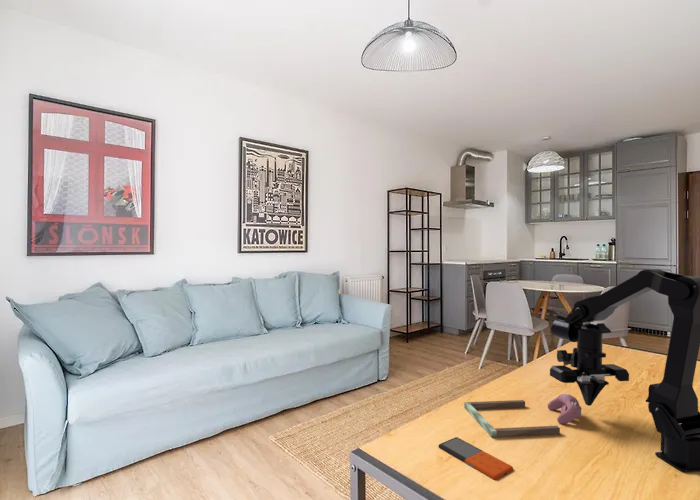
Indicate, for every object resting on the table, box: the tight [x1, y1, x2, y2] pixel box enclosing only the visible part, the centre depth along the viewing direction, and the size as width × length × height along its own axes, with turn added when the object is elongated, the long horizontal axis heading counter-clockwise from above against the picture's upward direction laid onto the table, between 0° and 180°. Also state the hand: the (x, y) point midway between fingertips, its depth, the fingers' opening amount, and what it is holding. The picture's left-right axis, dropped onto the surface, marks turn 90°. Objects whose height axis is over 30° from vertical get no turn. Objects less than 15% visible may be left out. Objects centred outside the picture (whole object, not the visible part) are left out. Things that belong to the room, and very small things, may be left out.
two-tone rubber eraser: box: [438, 436, 514, 481], centre depth 84 cm, size 6×1×15 cm
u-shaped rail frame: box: [463, 399, 561, 438], centre depth 101 cm, size 16×17×2 cm
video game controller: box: [547, 392, 582, 425], centre depth 103 cm, size 10×5×7 cm, turn 169°
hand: (588, 405), depth 104 cm, fingers closed
